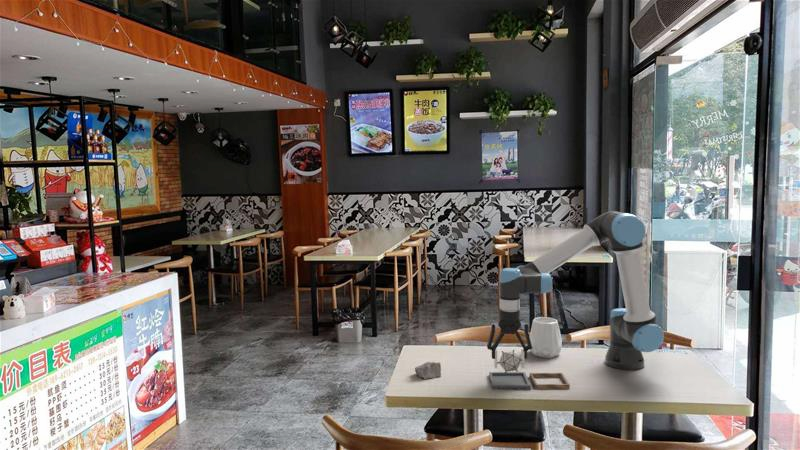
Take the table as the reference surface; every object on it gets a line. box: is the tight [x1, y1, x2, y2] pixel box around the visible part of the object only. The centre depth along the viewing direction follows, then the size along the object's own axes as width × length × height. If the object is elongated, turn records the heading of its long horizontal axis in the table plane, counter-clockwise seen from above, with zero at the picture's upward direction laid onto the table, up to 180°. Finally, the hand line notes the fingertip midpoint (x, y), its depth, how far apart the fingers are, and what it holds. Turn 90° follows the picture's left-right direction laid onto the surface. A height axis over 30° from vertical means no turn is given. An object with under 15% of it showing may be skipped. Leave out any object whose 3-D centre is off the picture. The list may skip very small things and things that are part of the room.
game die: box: [497, 349, 522, 373], centre depth 230 cm, size 9×8×10 cm
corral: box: [529, 372, 571, 390], centre depth 230 cm, size 13×13×2 cm
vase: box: [529, 316, 563, 359], centre depth 262 cm, size 14×14×15 cm
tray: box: [488, 371, 532, 390], centre depth 230 cm, size 14×14×2 cm
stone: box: [414, 361, 442, 380], centre depth 239 cm, size 10×8×6 cm
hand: (509, 366), depth 230 cm, fingers closed on game die, 9 cm apart
